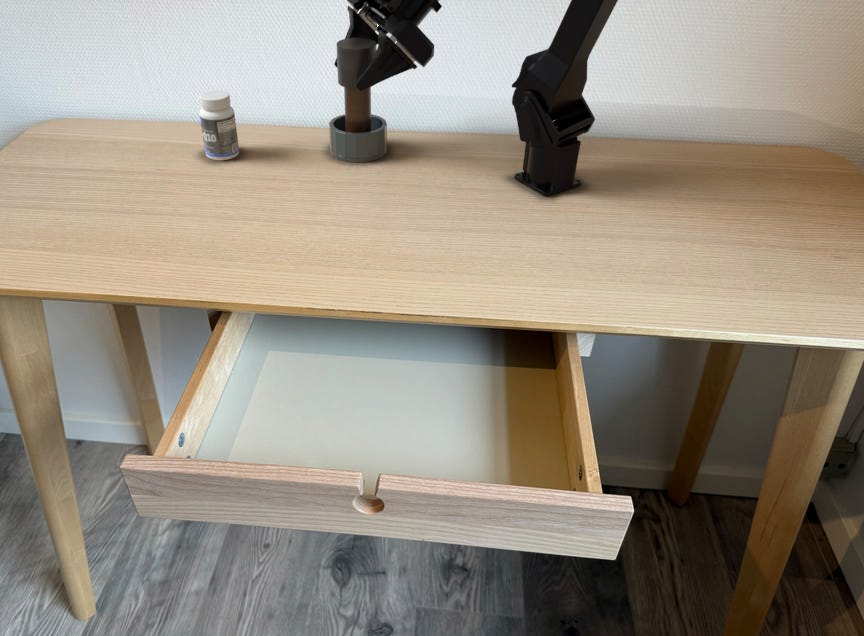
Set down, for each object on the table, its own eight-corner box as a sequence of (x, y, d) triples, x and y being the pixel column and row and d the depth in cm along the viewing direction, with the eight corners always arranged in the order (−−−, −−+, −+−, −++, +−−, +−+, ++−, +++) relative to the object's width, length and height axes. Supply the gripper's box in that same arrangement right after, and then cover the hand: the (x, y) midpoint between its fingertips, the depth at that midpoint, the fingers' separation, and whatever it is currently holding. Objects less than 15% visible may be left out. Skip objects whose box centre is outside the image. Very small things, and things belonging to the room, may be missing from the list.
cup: (397, 154, 101) (397, 126, 98) (348, 167, 98) (347, 138, 95) (368, 135, 106) (367, 109, 104) (320, 147, 103) (319, 119, 100)
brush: (383, 149, 101) (384, 45, 92) (351, 157, 99) (349, 51, 90) (365, 137, 104) (363, 35, 95) (333, 144, 102) (329, 41, 93)
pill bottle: (199, 153, 101) (189, 93, 96) (228, 145, 103) (220, 86, 98) (216, 164, 98) (207, 103, 93) (246, 155, 101) (238, 95, 95)
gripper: (360, -81, 93) (284, 18, 97) (413, -57, 79) (322, 57, 83) (414, -18, 100) (342, 71, 104) (472, 14, 86) (385, 115, 90)
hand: (346, 77), depth 95 cm, fingers open, 9 cm apart
